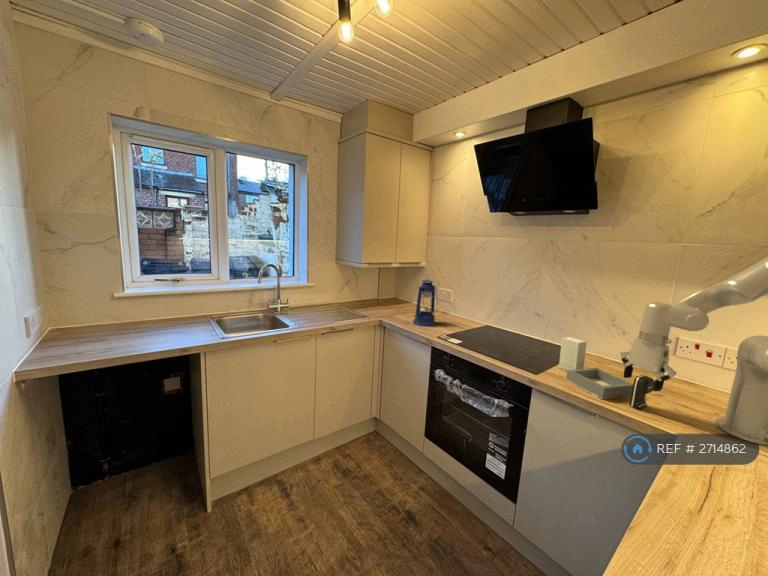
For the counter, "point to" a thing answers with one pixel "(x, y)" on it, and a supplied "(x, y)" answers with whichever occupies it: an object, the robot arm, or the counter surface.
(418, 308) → the lantern
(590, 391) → the bin
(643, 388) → the dark piece
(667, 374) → the robot arm
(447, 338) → the counter surface
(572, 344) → the skincare box
